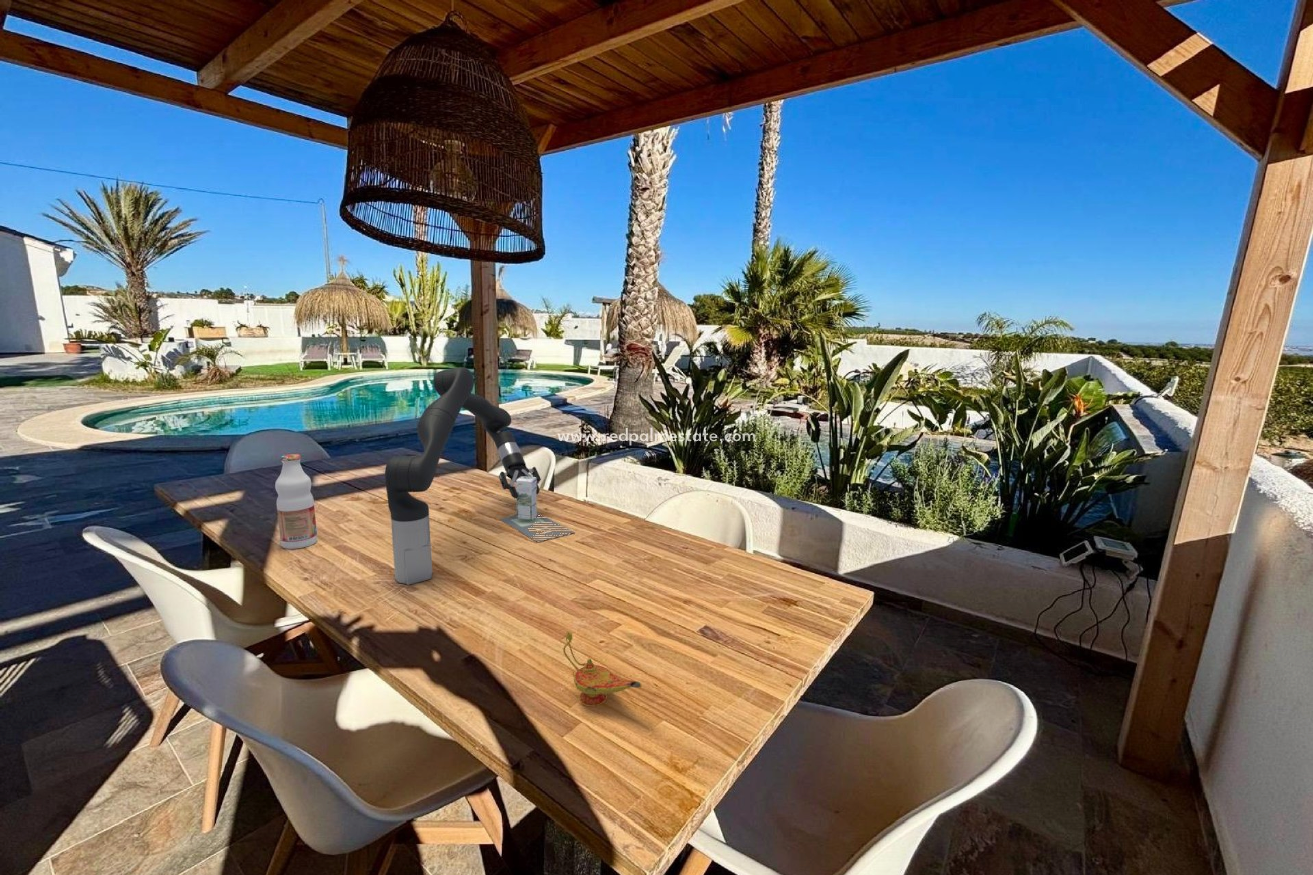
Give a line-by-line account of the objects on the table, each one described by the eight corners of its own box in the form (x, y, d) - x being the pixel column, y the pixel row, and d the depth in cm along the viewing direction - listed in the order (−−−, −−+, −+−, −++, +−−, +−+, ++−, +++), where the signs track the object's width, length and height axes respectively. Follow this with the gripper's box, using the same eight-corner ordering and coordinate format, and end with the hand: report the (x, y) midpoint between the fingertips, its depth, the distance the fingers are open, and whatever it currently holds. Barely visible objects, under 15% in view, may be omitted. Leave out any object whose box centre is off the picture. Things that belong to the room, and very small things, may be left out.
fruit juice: (274, 546, 161) (263, 457, 156) (304, 536, 170) (296, 451, 165) (294, 551, 158) (284, 460, 152) (324, 541, 166) (316, 454, 161)
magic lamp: (628, 732, 89) (629, 673, 87) (550, 691, 98) (550, 637, 96) (651, 709, 94) (652, 653, 92) (575, 673, 104) (575, 621, 102)
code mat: (574, 533, 178) (574, 532, 178) (537, 542, 169) (537, 542, 169) (534, 511, 199) (534, 511, 199) (499, 519, 190) (499, 518, 190)
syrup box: (537, 515, 191) (537, 476, 188) (532, 520, 185) (531, 480, 182) (522, 514, 191) (521, 475, 189) (516, 519, 186) (515, 479, 183)
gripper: (495, 454, 186) (511, 493, 179) (532, 449, 195) (548, 486, 189) (489, 465, 190) (505, 504, 184) (526, 460, 200) (541, 497, 193)
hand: (527, 495), depth 186 cm, fingers closed on syrup box, 7 cm apart
